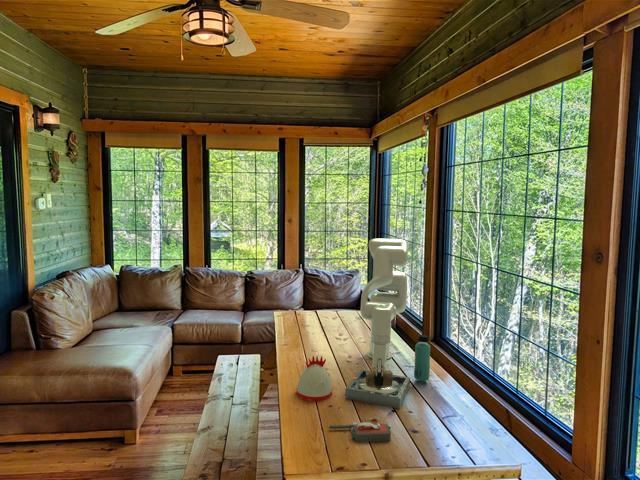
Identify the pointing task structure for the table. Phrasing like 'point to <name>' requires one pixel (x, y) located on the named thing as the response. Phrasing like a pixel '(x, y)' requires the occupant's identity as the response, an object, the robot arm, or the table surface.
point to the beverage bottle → (422, 359)
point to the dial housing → (374, 397)
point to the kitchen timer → (314, 382)
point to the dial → (387, 388)
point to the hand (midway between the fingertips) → (379, 382)
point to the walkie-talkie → (367, 431)
